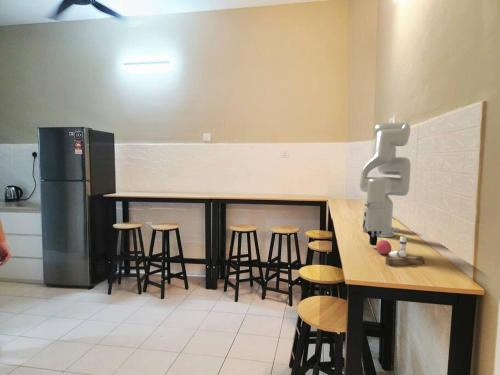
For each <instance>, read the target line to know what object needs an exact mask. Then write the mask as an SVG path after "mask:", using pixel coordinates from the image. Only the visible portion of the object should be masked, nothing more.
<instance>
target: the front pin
mask: <svg viewBox="0 0 500 375" xmlns="http://www.w3.org/2000/svg"><path fill="white" fill-rule="evenodd" d="M387 255H388V256H389V258H390V257H407V251H406V252H405V251H399V250H394V251H392V250H391V251H390V252H389V253H388V254H387Z"/></svg>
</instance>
